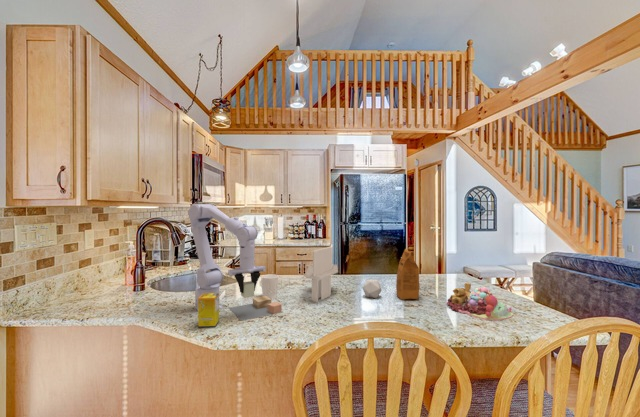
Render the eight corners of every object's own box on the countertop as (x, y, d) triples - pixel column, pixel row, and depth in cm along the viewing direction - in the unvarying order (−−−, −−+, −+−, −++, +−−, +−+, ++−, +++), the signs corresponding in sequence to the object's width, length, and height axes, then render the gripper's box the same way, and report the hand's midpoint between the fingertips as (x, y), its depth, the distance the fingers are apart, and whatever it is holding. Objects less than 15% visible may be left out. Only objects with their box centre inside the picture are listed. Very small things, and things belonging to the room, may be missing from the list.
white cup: (269, 301, 141) (269, 279, 141) (257, 298, 146) (257, 276, 145) (281, 297, 147) (281, 275, 147) (270, 294, 152) (270, 273, 152)
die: (383, 296, 149) (374, 278, 154) (385, 292, 142) (376, 273, 146) (368, 303, 148) (359, 285, 153) (369, 299, 141) (360, 280, 145)
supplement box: (203, 322, 116) (202, 293, 116) (219, 321, 116) (219, 292, 116) (197, 328, 110) (197, 297, 110) (215, 328, 110) (215, 297, 110)
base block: (257, 309, 129) (257, 301, 129) (252, 305, 134) (252, 298, 134) (271, 306, 133) (271, 299, 133) (265, 302, 138) (265, 295, 138)
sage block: (244, 297, 120) (244, 284, 120) (240, 295, 123) (240, 282, 123) (254, 296, 122) (254, 283, 122) (250, 293, 126) (250, 281, 125)
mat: (241, 321, 116) (241, 320, 116) (228, 308, 131) (228, 307, 131) (282, 312, 126) (282, 312, 126) (266, 301, 140) (266, 301, 140)
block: (273, 314, 124) (273, 306, 123) (267, 311, 126) (267, 304, 126) (281, 311, 126) (281, 304, 126) (275, 309, 129) (275, 301, 129)
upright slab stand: (301, 287, 164) (301, 242, 164) (342, 287, 163) (342, 243, 163) (294, 304, 136) (294, 251, 136) (343, 305, 135) (343, 251, 135)
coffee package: (415, 293, 153) (415, 248, 153) (421, 301, 141) (421, 252, 140) (394, 292, 154) (394, 248, 154) (398, 300, 142) (398, 252, 141)
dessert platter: (436, 307, 133) (436, 286, 133) (462, 297, 148) (462, 277, 148) (500, 325, 114) (500, 300, 113) (522, 311, 129) (523, 288, 129)
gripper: (231, 260, 115) (232, 297, 116) (268, 256, 123) (268, 291, 123) (226, 257, 121) (226, 292, 122) (261, 254, 129) (261, 287, 129)
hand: (247, 291), depth 123 cm, fingers closed on sage block, 4 cm apart
